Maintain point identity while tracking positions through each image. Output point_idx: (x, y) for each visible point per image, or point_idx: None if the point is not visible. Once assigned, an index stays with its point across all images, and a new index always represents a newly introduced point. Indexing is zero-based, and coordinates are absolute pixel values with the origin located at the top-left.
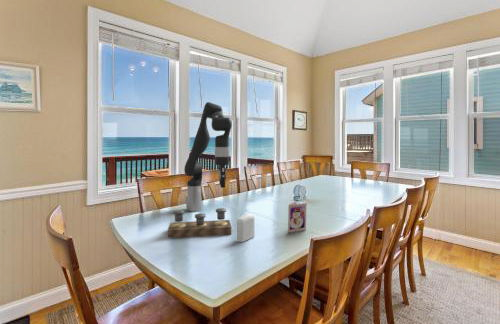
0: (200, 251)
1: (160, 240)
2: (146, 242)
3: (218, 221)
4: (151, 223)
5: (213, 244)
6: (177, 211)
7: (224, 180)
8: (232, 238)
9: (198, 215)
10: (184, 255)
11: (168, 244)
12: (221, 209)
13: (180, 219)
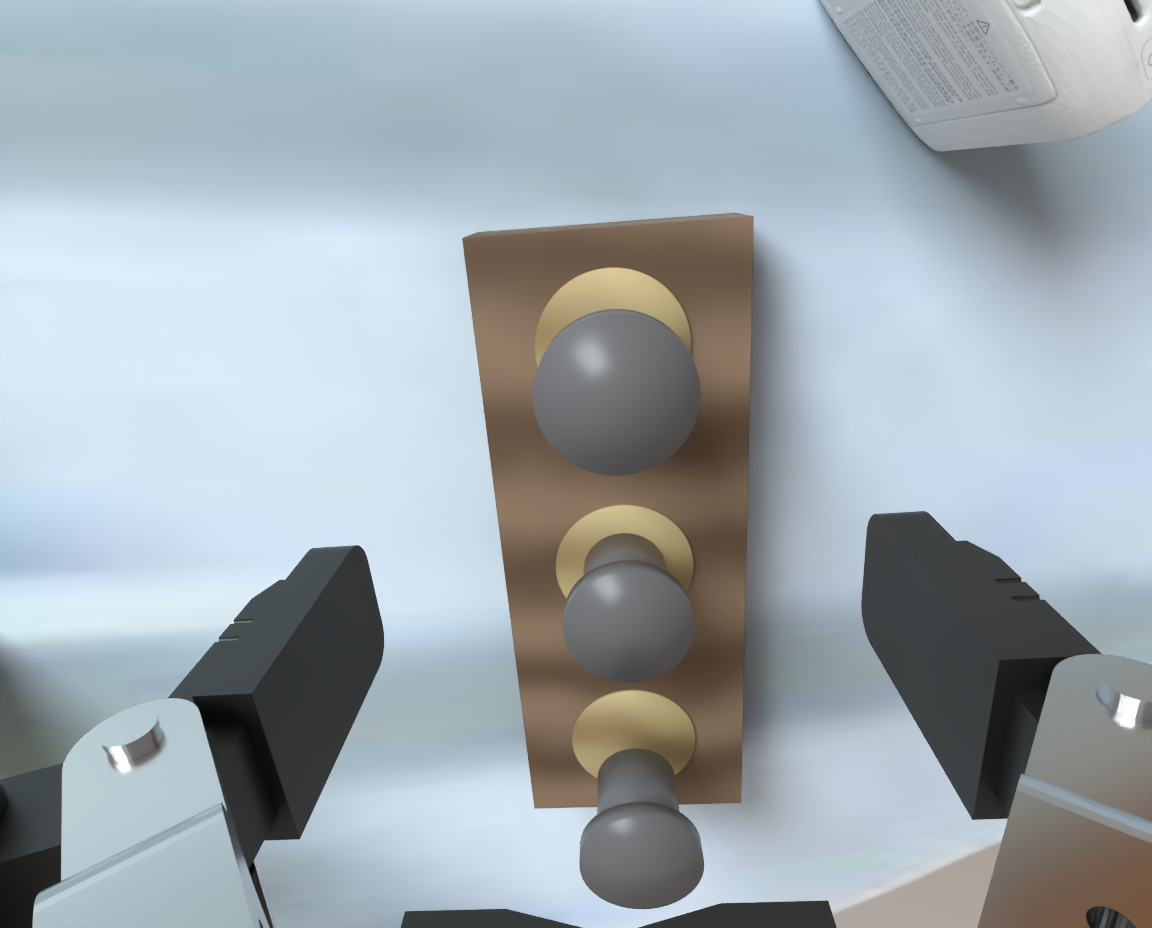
0: (1080, 499)
1: (769, 784)
2: (789, 852)
3: (523, 378)
4: (380, 892)
5: (962, 399)
6: (649, 874)
7: (1068, 679)
8: (855, 204)
9: (645, 645)
10: (1112, 604)
11: (863, 727)
12: (614, 390)
13: (670, 779)
